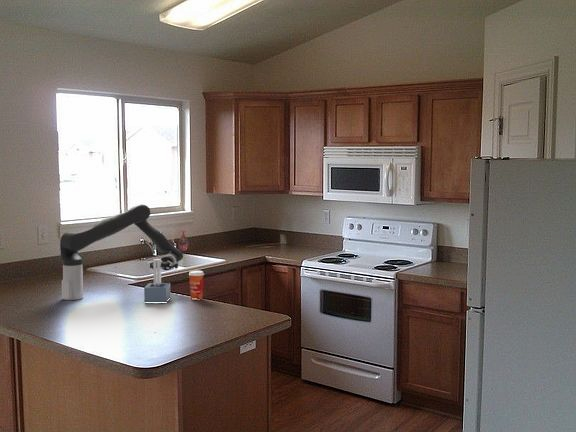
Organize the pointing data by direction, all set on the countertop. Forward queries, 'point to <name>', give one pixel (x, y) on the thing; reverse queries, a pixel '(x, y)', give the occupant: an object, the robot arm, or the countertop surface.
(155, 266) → the white upright rod
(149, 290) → the grey open box
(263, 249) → the countertop surface
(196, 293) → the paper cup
